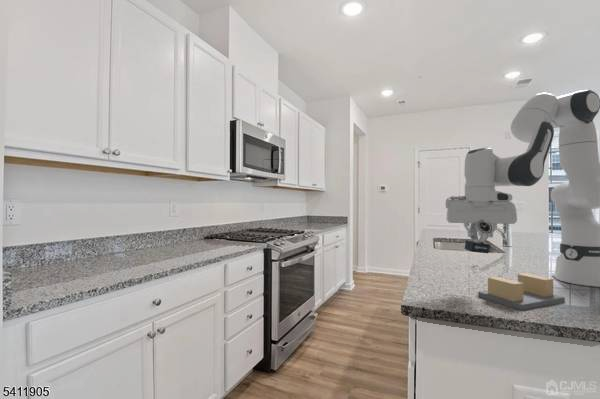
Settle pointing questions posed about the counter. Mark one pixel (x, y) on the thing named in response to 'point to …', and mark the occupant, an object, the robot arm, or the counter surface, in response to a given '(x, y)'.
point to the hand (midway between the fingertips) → (480, 236)
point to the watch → (484, 233)
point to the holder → (522, 292)
